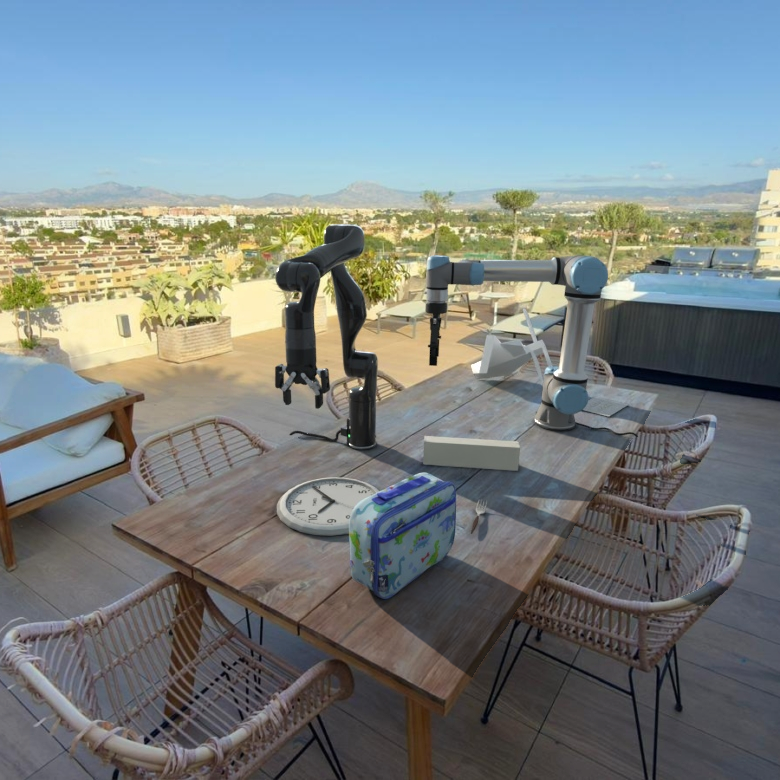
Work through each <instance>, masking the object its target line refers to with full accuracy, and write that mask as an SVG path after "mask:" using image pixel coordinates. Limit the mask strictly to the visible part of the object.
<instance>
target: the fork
mask: <svg viewBox="0 0 780 780" xmlns="http://www.w3.org/2000/svg"><path fill="white" fill-rule="evenodd" d="M482 502H483V503H482ZM487 503H488V500H486V501H485V499H484V500H483V499H481V500H480V498H478V501H477V503H476V504H477V505H476V507H475V513H477V515H476V517H475V518H474V520H473V521H472V527H471V530H470V535H473V532H474V531H475V529H476V528H477V526H478V523H479V519H480V516H481V515H483V514H485V513H486V511H487V505H488V504H487Z"/></svg>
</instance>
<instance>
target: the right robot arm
mask: <svg viewBox="0 0 780 780" xmlns="http://www.w3.org/2000/svg"><path fill="white" fill-rule="evenodd" d="M608 279H609V270H608V268H607V265H606V264H605V263H604V262H603V261H602V260H601V259H600V258H597V257H595V256H590V255H584V254H577V255H569V256H559V257H558V256H555V257H554V256H553V257H552V258H551V259H538V260H537V259H525V260H524V259H522V260H521V259H486V260H485V259H483V260H482V259H479V260H477V259H472V260H471V259H462V260H459V261H458V262H457V261H456V262H455V261H451V259H450V257H449V256H448V255H430V256H429V257H428V258H427V262H426V281H425V282H426V283H425V290H426V291H423V292H424V293H423V294H424V295H425V300H426V302H425V307H424V308H425V310H424V311H425V313H426V314H432V315H431V316H432V317H430V318H429V330H430V339H429V344H428V345H427V348H429V355H428V356H429V359H428V366H432V367H433V366H434V367H438V357H440V340H441V339H442V335H441V333H440V332H441V325H442V318H443V317H441V315H445V314H447V312H448V303H447V301H448V299H449V298H448V297H449V285H451V286H452V285H457V286H481V285H483V284H484V282H509V283H510V282H512V283H513V282H515V283H519V282H521V283H523V282H525V283H528V282H529V283H538V282H539V283H549V284H550V285H553V286H555V285H556V286H564V294H563V295H564V298H565V299H566V300H567V308H566V315H565V321H564V328H563V334H562V335H563V336H562V342H561V348H560V349H561V350H560V357H559V364H558V365H557V366H554V365H553V367H548V366H547V367H545V369H544V373H543V377H544V382H543V387H542V394H541V402H540V405H539V407H538V410H537V411H535V416H534V424H535V425H536V426H537V427H539V428H542V429H544V430H549V431H556V432H567V431H572V430H574V429H575V428H576V425H577V426H581V427H584V428H586V429H590V430H594V431H601V430H606V431H608V432H611V433H612V434H613V435H617V436H625V435H626V436H627V435H633V436H634V437H636V438H638V437H639V435H638V434H637V433H635V432H633V431H627V432H616V431H614V430H613V429H611V428H609V427H603V426H601V427H592V426H590V425H587V424H584V423H580V422H577V421H576V418H575V417H576V416H575V414H578V413H580V412H581V411H584V410H583V409H584V408H585V407H586V405H587V403H588V400H589V392H588V390H587V385H588V379H589V376H588V374H587V373H586V372H585V369H586V363H587V356H588V350H589V343H590V336H591V330H592V323H593V319H594V318H593V317H594V312H595V305H596V303H597V302H599V301H600V300H601V297H602V291H603V289H604V288H605V286H606V285H607V284H608V283H607V282H608Z"/></svg>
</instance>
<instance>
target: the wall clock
mask: <svg viewBox="0 0 780 780" xmlns="http://www.w3.org/2000/svg"><path fill="white" fill-rule="evenodd" d="M380 491H381V490H380V489H379V488H377V487H376V486H374V485H372V484H371V483H369V482H365V481H362V480H359V479H355V478H349V477H338V476H337V477H335V476H333V477H332V476H331V477H322V478H317V479H312V480H307V481H305V482H302V483H299V484H297V485H295V486H293V487H292V488H290V489H288V490H287V491H286V492H285V493H284V494H283V495H281V496H280V498H279V499H278V502H277V503H276V515H277V517H278V518H279V520H280V521H281V522H282V523H283V524H285V525H286V526H287V527H288V528H290V529H293V530H295V531H297V532H299V533H303V534H308V535H312V536H327V537H328V536H329V537H331V536H332V537H333V536H342V535H349V520H350V515H351V513H352V511H353V509H354V507H355V506H356V505H357V504H358V503H359V502H360V501H362V500H363V499H365V498H367V497H370V496H372V495H374V494H376V493H378V492H380Z"/></svg>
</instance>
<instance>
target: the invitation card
mask: <svg viewBox="0 0 780 780" xmlns="http://www.w3.org/2000/svg"><path fill="white" fill-rule="evenodd" d="M628 406H629V404H627V403H623V402H618V401H614V400H609V399H605V398H601V397H596V396H593V397H592V398H590V399H588V403H587V405H586V407H585V408H584V409H583V410H582V411H584V412H587V413H593V414H596V415H600V416H604V417H608V418H609V417H611V416H613V415H614V414H616V413H617V412H619V411H621V410H623V409H624V408H626V407H628Z"/></svg>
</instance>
